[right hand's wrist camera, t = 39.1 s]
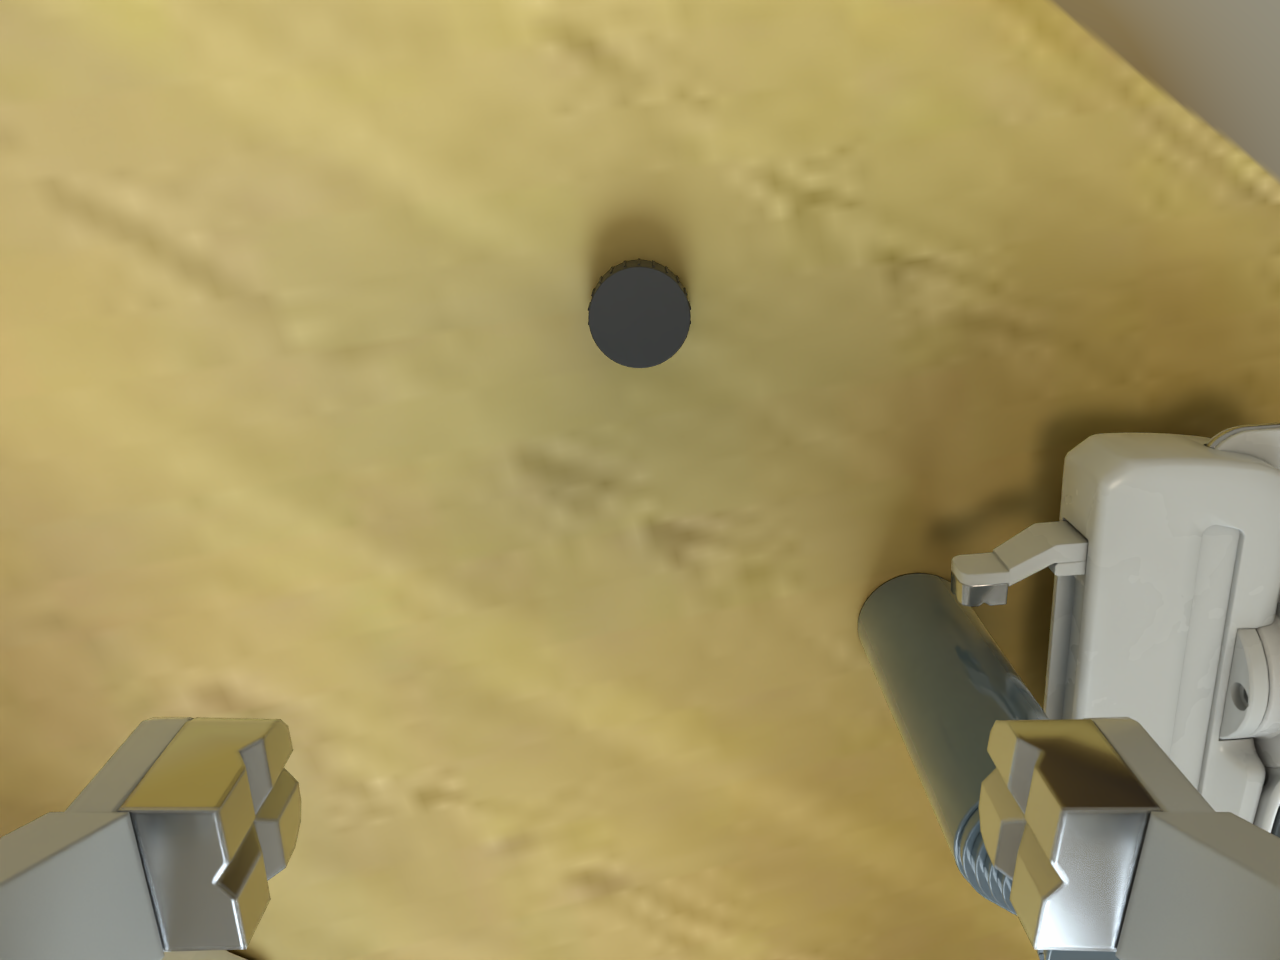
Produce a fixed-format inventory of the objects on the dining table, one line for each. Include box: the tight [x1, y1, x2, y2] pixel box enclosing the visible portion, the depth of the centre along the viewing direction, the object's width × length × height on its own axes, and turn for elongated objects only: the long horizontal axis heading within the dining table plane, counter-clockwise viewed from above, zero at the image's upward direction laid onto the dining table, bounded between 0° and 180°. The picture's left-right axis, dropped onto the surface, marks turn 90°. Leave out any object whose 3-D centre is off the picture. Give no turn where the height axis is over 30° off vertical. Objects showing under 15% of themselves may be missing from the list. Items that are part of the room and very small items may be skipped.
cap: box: [588, 259, 691, 368], centre depth 37 cm, size 4×4×2 cm
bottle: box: [858, 573, 1120, 960], centre depth 34 cm, size 5×5×19 cm
